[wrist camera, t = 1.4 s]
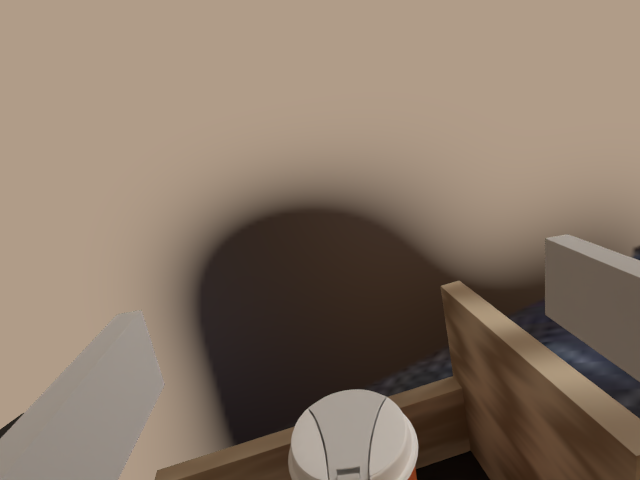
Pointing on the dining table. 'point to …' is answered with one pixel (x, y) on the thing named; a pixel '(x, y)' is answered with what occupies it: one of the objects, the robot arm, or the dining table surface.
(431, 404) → the oak rack
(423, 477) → the dining table surface
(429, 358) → the dining table surface
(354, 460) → the paper cup
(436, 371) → the dining table surface
